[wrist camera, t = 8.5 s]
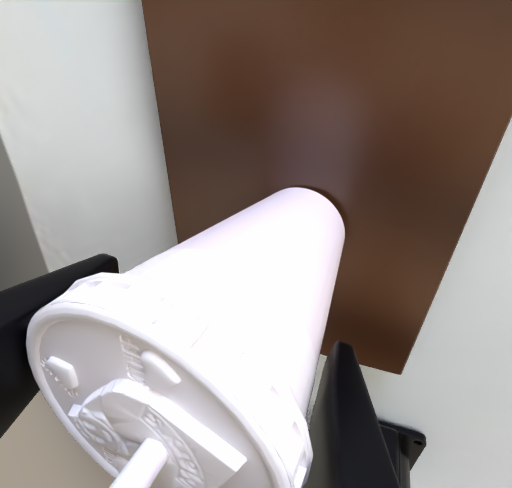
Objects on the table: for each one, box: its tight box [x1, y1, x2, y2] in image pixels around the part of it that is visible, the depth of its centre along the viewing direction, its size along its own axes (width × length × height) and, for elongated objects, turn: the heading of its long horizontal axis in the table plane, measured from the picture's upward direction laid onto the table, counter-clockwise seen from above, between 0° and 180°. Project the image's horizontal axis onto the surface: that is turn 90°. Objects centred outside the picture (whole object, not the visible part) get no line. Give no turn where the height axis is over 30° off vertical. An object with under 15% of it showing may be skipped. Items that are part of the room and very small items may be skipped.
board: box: [141, 0, 512, 375], centre depth 14 cm, size 20×12×2 cm, turn 0°
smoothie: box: [26, 187, 345, 488], centre depth 9 cm, size 6×6×14 cm
